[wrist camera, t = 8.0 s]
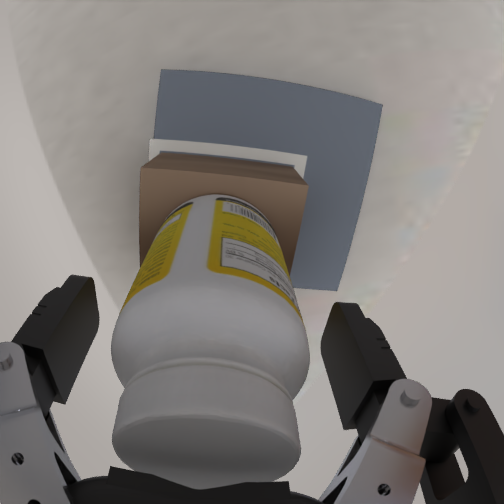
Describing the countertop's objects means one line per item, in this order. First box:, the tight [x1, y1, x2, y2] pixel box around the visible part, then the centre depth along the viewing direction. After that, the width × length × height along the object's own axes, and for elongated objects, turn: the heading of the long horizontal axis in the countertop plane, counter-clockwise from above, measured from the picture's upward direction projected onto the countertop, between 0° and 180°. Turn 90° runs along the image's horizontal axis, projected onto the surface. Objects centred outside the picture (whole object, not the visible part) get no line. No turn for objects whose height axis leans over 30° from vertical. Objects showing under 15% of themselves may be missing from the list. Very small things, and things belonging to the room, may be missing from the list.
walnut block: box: [139, 152, 309, 276], centre depth 16 cm, size 7×7×4 cm
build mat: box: [148, 70, 383, 291], centre depth 18 cm, size 12×12×1 cm
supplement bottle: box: [111, 194, 310, 489], centre depth 10 cm, size 5×5×10 cm
